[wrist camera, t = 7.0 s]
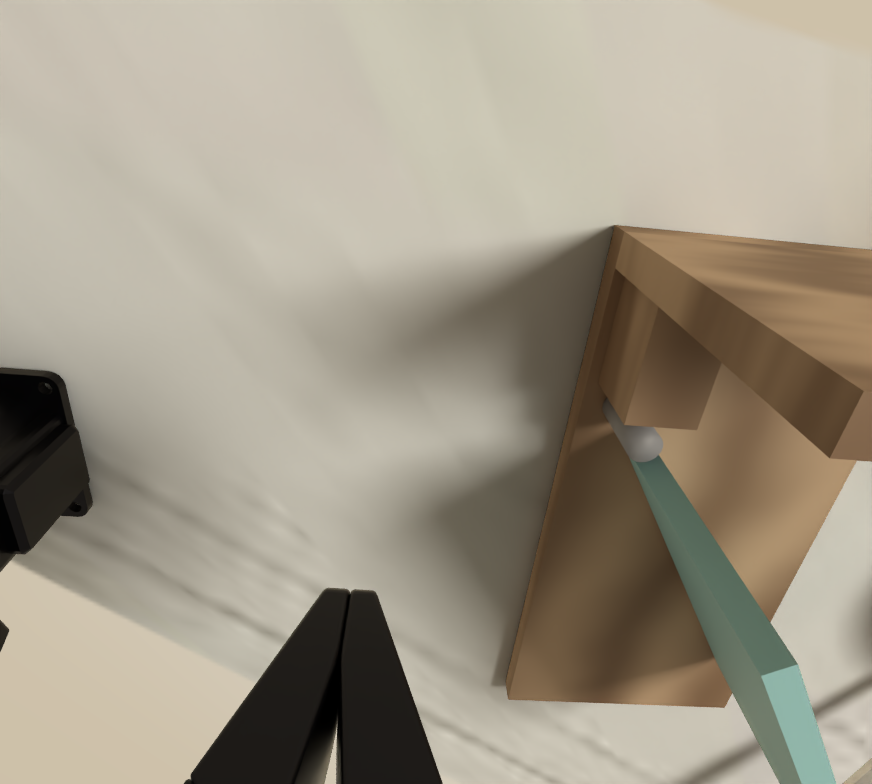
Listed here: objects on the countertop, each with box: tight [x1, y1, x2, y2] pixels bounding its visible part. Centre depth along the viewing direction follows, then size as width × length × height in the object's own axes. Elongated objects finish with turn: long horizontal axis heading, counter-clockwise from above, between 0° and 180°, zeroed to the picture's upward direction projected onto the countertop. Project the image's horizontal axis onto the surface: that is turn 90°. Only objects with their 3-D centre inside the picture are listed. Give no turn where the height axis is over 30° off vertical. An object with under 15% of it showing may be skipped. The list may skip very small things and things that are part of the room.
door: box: [602, 398, 836, 784], centre depth 20 cm, size 1×17×10 cm, turn 28°
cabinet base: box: [506, 225, 872, 708], centre depth 20 cm, size 12×24×12 cm, turn 174°
